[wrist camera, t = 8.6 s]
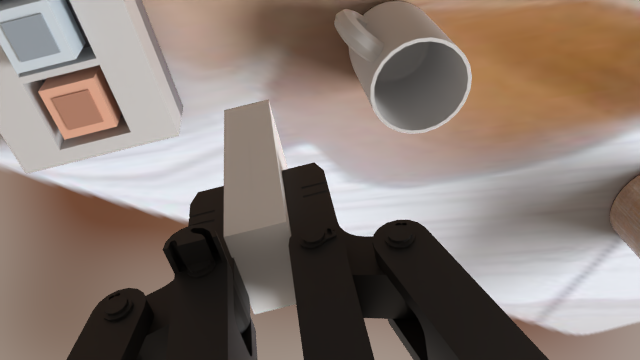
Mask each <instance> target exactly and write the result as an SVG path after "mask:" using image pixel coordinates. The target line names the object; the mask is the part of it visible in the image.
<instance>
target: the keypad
mask: <svg viewBox="0 0 640 360" xmlns="http://www.w3.org/2000/svg"><path fill="white" fill-rule="evenodd" d="M0 1H2V0H0ZM66 2H67V5H68V7H69V9H70V11H71V13H72V15H73V17H74V19H75V22H76V24H77V26H78V28H79V30H80V32H81V34H82V36H83V39H84V41H85V45H84V47H83V48H82V50H81V52H80V53H79V55H78V57H77V58H76V59H74V60H70V61H66V62H62V63H58V64H54V65H50V66H46V67H43V68H39V69H35V70H31V71H27V72H23V73H19V74H17V73H16V71H15V70H14V68H13V66H12V64H11V62H10V61H9V59H8V57H7V55H6V54H5V52H4V50H3V48H2V47H1V45H0V133H1V135H2V137H3V138H4V140H5V141H6V143H7V145H8V146H9V148H10V149H11V151H12V153H13V154H14V156H15V157H16V159H17V161H18V162H19V164H20V165H21V167H22V169H23V170H24V172H25V173H26V174H28V173H32V172H36V171H40V170H44V169H48V168H52V167H56V166H60V165H64V164H68V163H72V162H76V161H80V160H84V159H88V158H92V157H96V156H100V155H104V154H108V153H112V152H116V151H120V150H124V149H128V148H132V147H136V146H140V145H144V144H148V143H152V142H156V141H160V140H164V139H168V138H172V137H176V136H179V131H180V125H181V118H182V111H183V105H182V102H181V100H180V97H179V95H178V92H177V90H176V87H175V84H174V82H173V79H172V77H171V74H170V72H169V69H168V67H167V64H166V61H165V59H164V56H163V54H162V51H161V49H160V46H159V43H158V41H157V38H156V36H155V33H154V31H153V28H152V26H151V23H150V20H149V18H148V15H147V13H146V10H145V8H144V5H143V3H142V0H66ZM97 65H100V67H101V69H102V71H103V73H104V75H105V78H106V80H107V82H108V84H109V86H110V88H111V90H112V93H113V95H114V97H115V99H116V101H117V103H118V105H119V108H120V110H121V112H122V113H121V116H120V119H119V122H118V125H117V127H113V128H109V129H105V130H101V131H97V132H93V133H89V134H85V135H81V136H77V137H73V138H69V139H65V140H64V138H63V136H62V134H61V132H60V131H59V129H58V127H57V125H56V123H55V121H54V120H53V118H52V116H51V114H50V112H49V111H48V109H47V107H46V105H45V103H44V102H43V100H42V98H41V96H40V94H39V93H38V91H39V89H40V88H41V86H42V85H43V83H44V82H45V80H46V79H47V78H50V77H54V76H58V75H62V74H66V73H69V72H73V71H77V70H81V69H85V68H89V67H93V66H97Z"/></svg>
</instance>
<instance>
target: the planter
mask: <svg viewBox="0 0 640 360" xmlns="http://www.w3.org/2000/svg"><path fill="white" fill-rule="evenodd" d="M610 222H611V225H612V227H613V229H614V230H615V231H616V232H617V234H618V235H619V236H620V237H621V238H622V240H623V241H624V242H625V243H626V244H627V245H628V246H629V247H630V248H631V249H632V251H633V252H634V253H635V254H636V255H637V256H638V257H639V258H640V175H638V176H637V177H635V178H634V179H633V180H631V181H630V182H629V183H628V184H627V185H626V186H625V187H624V188H623V189H622V190H621V191H620V193H619V194H618V195H617V197H616V199H615V200H614V202H613V205H612V207H611V211H610Z"/></svg>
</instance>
